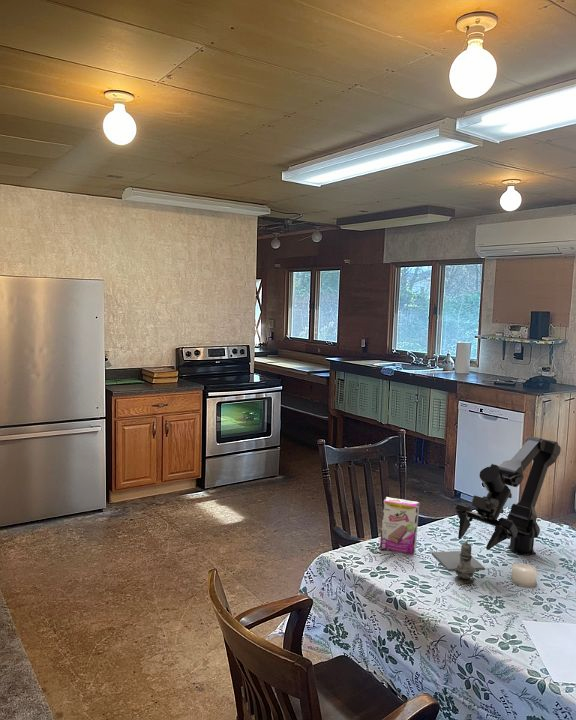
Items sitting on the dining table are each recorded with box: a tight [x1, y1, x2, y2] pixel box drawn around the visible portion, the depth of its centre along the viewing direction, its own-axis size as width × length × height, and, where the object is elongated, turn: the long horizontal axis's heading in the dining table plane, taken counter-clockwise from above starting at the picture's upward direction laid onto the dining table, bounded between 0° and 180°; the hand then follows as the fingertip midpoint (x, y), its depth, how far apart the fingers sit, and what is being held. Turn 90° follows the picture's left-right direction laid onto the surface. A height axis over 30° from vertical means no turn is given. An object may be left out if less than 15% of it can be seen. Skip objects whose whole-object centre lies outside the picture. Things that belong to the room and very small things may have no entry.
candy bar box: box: [379, 496, 420, 556], centre depth 190 cm, size 11×5×16 cm, turn 71°
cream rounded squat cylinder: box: [510, 562, 538, 588], centre depth 173 cm, size 7×7×4 cm
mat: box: [431, 550, 486, 572], centre depth 184 cm, size 12×12×1 cm
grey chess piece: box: [453, 540, 476, 585], centre depth 171 cm, size 6×6×12 cm
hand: (472, 543), depth 173 cm, fingers open, 9 cm apart
